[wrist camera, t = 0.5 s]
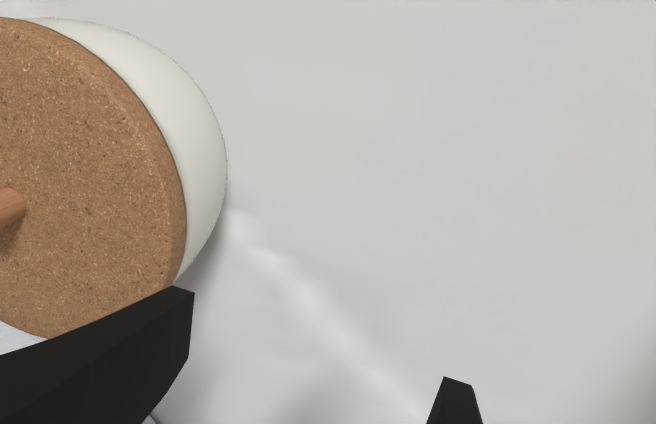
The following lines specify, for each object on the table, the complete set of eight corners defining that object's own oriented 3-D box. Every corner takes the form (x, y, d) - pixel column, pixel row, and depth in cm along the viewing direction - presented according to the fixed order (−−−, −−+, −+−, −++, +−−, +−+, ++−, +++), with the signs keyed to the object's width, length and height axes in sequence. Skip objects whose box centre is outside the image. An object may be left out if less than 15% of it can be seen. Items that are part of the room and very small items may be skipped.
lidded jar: (254, 272, 25) (138, 418, 17) (53, 213, 27) (-140, 319, 19) (282, 34, 20) (142, 73, 12) (37, -18, 22) (-229, -14, 14)
